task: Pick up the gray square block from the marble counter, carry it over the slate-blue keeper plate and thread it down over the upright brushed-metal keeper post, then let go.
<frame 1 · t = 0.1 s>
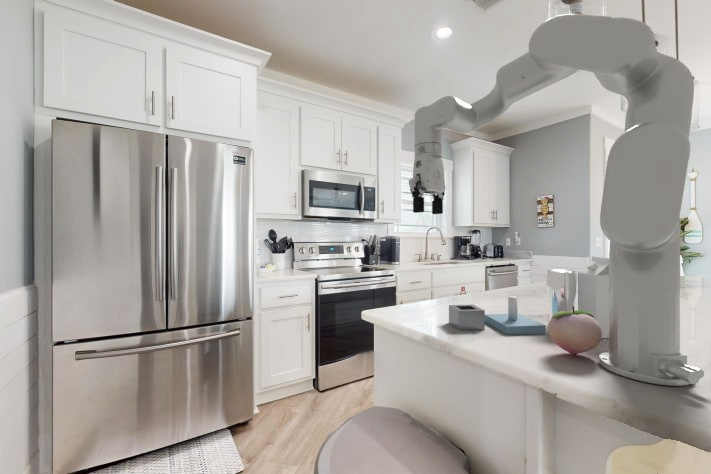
hand: (428, 213, 89), 31 cm above the counter, tool pointing down, fingers open, 9 cm apart
beer glass: (561, 327, 84), on the counter
keeper: (512, 326, 85), on the counter
decorative fruit: (576, 356, 64), on the counter, touching arm
gray square block: (466, 326, 86), on the counter
milk carton: (601, 335, 78), on the counter
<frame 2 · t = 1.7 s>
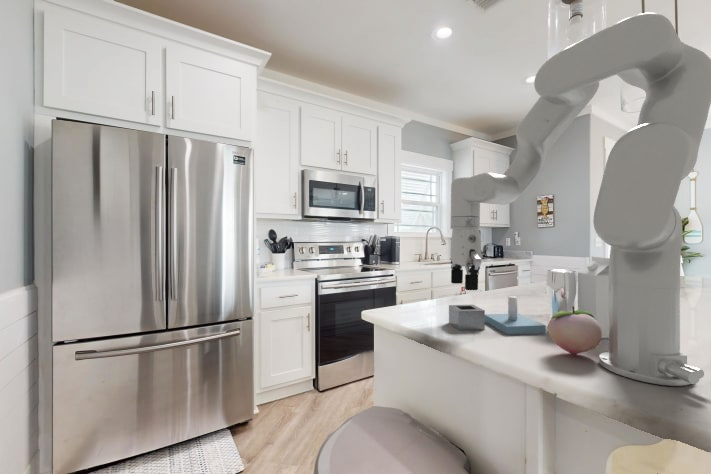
hand: (463, 286, 86), 11 cm above the counter, tool pointing down, fingers open, 9 cm apart
nothing on the counter moved.
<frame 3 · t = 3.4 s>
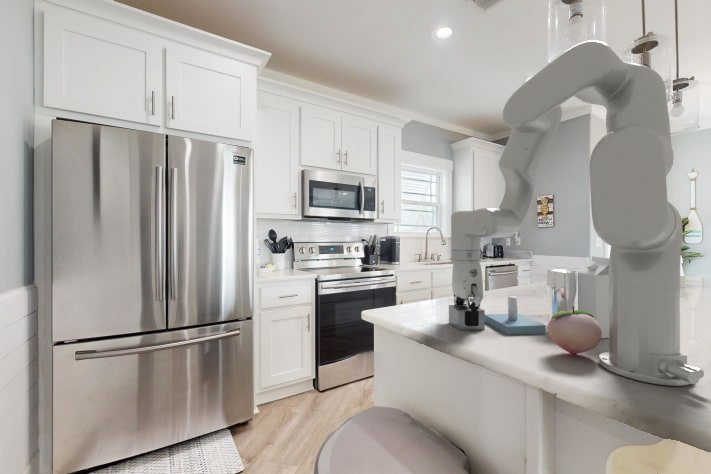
hand: (466, 321, 86), 1 cm above the counter, tool pointing down, fingers closed on gray square block, 7 cm apart
gray square block: (466, 326, 86), on the counter, touching gripper
everything else where it was.
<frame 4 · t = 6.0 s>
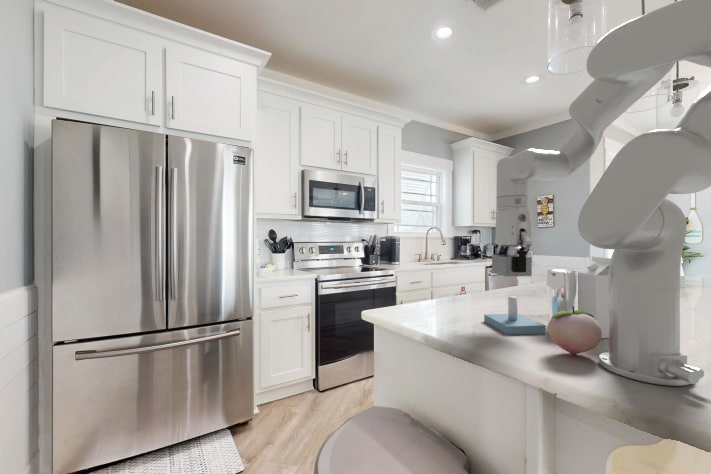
hand: (511, 269, 85), 15 cm above the counter, tool pointing down, fingers closed on gray square block, 7 cm apart
gray square block: (510, 274, 85), point 14 cm above the counter, touching gripper
everything else where it was.
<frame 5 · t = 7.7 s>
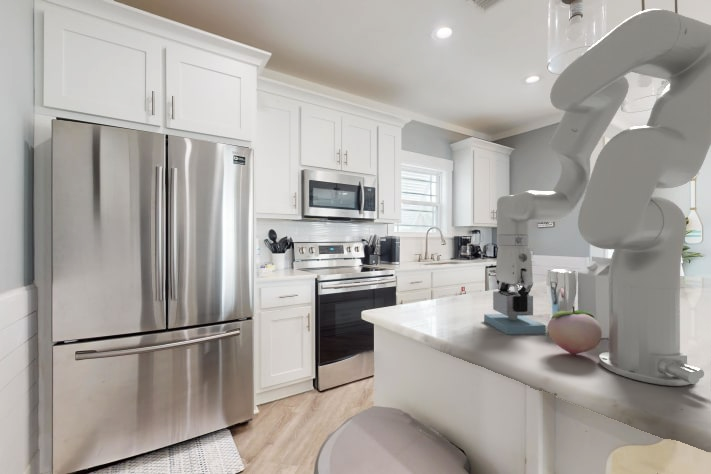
hand: (512, 307, 85), 5 cm above the counter, tool pointing down, fingers closed on gray square block, 7 cm apart
gray square block: (512, 312, 85), point 4 cm above the counter, touching gripper
everything else where it was.
when the fingers open (5 cm above the counter, at t = 9.0 s): gray square block drops 1 cm, resting on keeper.
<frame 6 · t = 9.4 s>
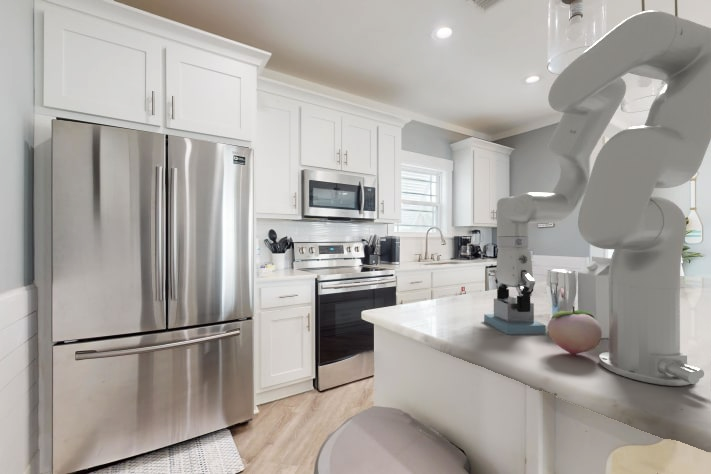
hand: (512, 307, 84), 5 cm above the counter, tool pointing down, fingers open, 9 cm apart
gray square block: (513, 319, 84), point 2 cm above the counter, touching keeper
everything else where it was.
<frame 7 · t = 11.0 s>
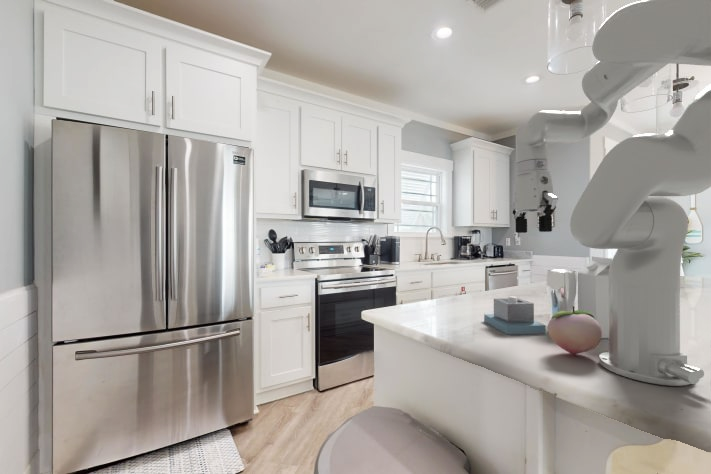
hand: (532, 232, 86), 25 cm above the counter, tool pointing down, fingers open, 9 cm apart
nothing on the counter moved.
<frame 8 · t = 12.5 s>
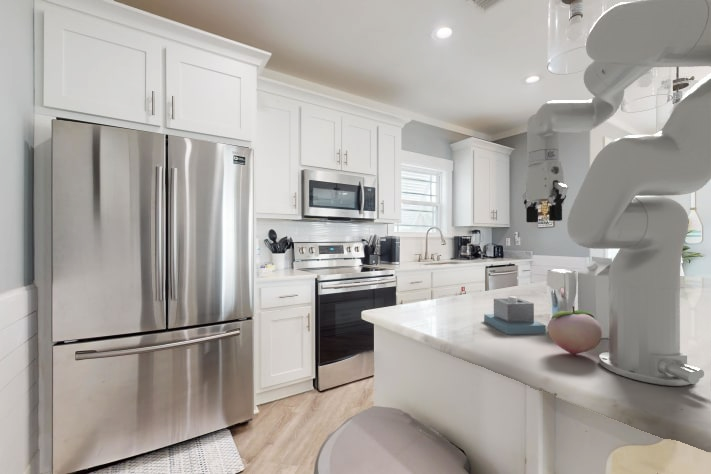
hand: (543, 221, 87), 28 cm above the counter, tool pointing down, fingers open, 9 cm apart
nothing on the counter moved.
at the end: gray square block 0.1 cm off-centre on the keeper, point 2.0 cm above the keeper's base; the gripper is holding nothing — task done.
